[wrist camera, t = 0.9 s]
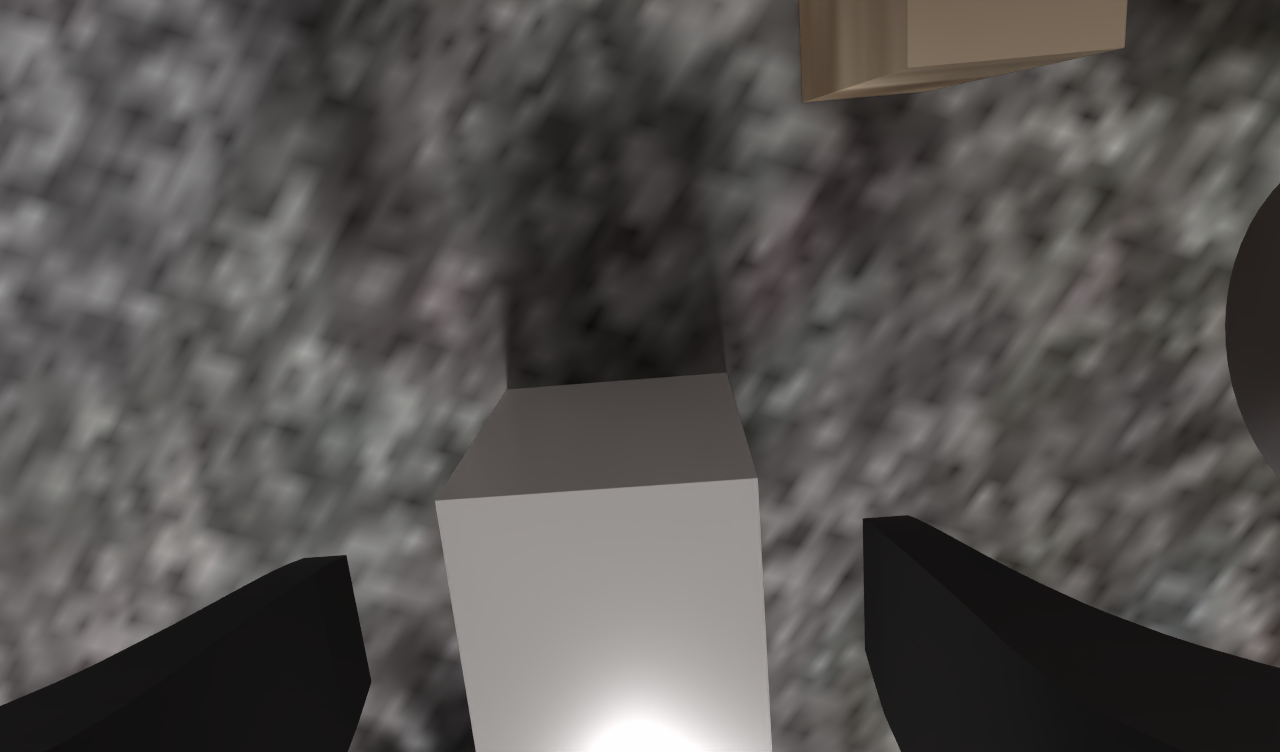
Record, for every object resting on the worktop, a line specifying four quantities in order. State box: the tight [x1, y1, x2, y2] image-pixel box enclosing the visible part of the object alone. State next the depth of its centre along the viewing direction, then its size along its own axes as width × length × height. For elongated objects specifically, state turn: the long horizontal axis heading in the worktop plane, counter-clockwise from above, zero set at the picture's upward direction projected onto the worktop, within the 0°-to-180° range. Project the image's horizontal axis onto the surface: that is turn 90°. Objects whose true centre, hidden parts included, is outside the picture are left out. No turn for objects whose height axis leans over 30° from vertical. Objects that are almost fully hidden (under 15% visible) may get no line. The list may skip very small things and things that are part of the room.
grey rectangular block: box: [435, 373, 772, 752], centre depth 13 cm, size 4×4×5 cm
